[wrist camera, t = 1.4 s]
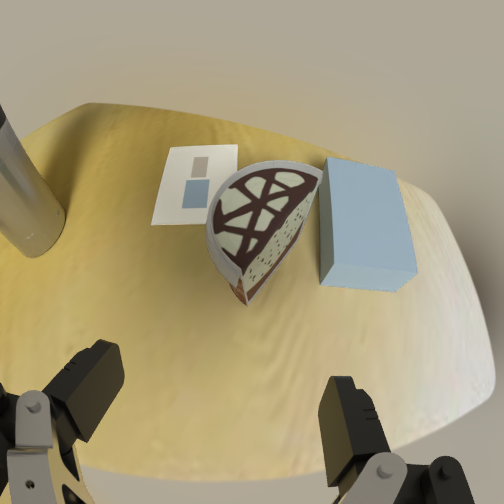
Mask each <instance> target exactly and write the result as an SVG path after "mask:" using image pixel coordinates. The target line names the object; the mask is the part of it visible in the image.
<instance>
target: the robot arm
mask: <svg viewBox="0 0 504 504" xmlns="http://www.w3.org/2000/svg"><path fill="white" fill-rule="evenodd" d="M64 222H65V211H64V209H63V207H62V206H61V204H60V203H59V202H58V200H57V199H56V197H55V196H54V195H53V193H52V192H51V190H50V189H49V187H48V186H47V184H46V183H45V181H44V180H43V178H42V177H41V175H40V174H39V172H38V171H37V169H36V168H35V166H34V164H33V163H32V161H31V160H30V158H29V156H28V155H27V153H26V151H25V150H24V148H23V146H22V145H21V143H20V141H19V140H18V138H17V136H16V134H15V132H14V131H13V129H12V127H11V125H10V123H9V121H8V119H7V117H6V115H5V113H4V111H3V110H2V107H1V105H0V232H1V233H2V234H3V235H4V236H5V237H6V238H7V239H8V240H9V241H10V242H11V243H12V244H13V245H14V246H15V247H16V248H17V249H18V250H19V251H20V252H22V253H23V254H24V255H25V256H27V257H30V258H32V257H37V256H40V255H41V254H43V253H45V252H46V251H47V250H48V249H49V248H50V247H51V246H52V245H53V244H54V243H55V241H56V240H57V239H58V237H59V235H60V233H61V232H62V229H63V226H64ZM124 376H125V375H124V369H123V364H122V360H121V355H120V350H119V346H118V345H117V344H115V343H112V342H108V341H105V340H102V339H99V340H98V341H96V343H95V344H94V345H93V346H92V347H91V348H86V349H84V350H82V351H80V352H78V353H77V354H76V355H75V356H74V357H73V358H72V359H71V360H70V362H68V363H67V364H66V365H65V366H64V369H62V370H61V371H60V372H59V373H58V374H57V375H56V376H55V377H54V378H53V379H52V380H51V382H50V383H49V384H48V385H47V386H46V387H45V388H44V389H43V390H42V391H41V392H40V391H36V390H32V391H27V392H25V393H23V394H22V395H21V396H18V395H14V394H10V393H7V392H6V391H5V390H4V388H3V386H2V384H1V383H0V496H1V494H2V492H3V490H4V488H5V487H6V485H7V483H8V481H9V488H10V495H11V501H12V504H95V503H94V501H93V499H92V497H91V495H90V494H89V492H88V490H87V488H86V486H85V483H84V480H83V476H82V472H81V469H80V464H79V460H78V456H77V451H76V447H75V444H74V442H75V441H76V439H77V438H78V439H80V440H82V441H84V442H86V443H88V441H89V439H90V438H91V436H92V434H93V433H94V431H95V429H96V428H97V426H98V424H99V423H100V421H101V419H102V418H103V416H104V415H105V413H106V411H107V410H108V408H109V407H110V405H111V403H112V402H113V400H114V399H115V397H116V395H117V394H118V392H119V391H120V389H121V388H122V386H123V383H124ZM318 418H319V425H320V432H321V438H322V445H323V452H324V460H325V467H326V475H327V483H328V487H336V486H338V488H339V494H338V495H337V496H336V498H335V499H334V500H333V502H332V503H331V504H475V503H474V500H473V497H472V494H471V491H470V488H469V485H468V482H467V480H466V477H465V474H464V472H463V469H462V466H461V465H460V463H459V462H458V461H457V460H456V459H455V458H453V457H450V456H441V457H439V458H437V459H435V460H434V461H433V462H432V463H431V464H430V465H413V464H406V463H405V461H404V460H403V459H402V458H401V457H400V456H398V455H396V454H394V453H391V451H390V449H389V446H388V443H387V440H386V437H385V434H384V431H383V428H382V426H381V423H380V420H379V419H378V415H377V412H376V411H375V407H374V404H373V401H372V399H371V397H370V396H369V395H368V394H367V393H366V392H365V391H364V390H363V389H356V387H355V384H354V381H353V379H352V377H351V376H331V377H330V378H329V380H328V383H327V386H326V389H325V391H324V394H323V397H322V399H321V402H320V405H319V411H318Z"/></svg>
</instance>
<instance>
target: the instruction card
mask: <svg viewBox="0 0 504 504" xmlns="http://www.w3.org/2000/svg"><path fill="white" fill-rule="evenodd" d="M237 156H238V145H203V146H184V147H171V148H170V151H169V154H168V158H167V161H166V165H165V169H164V172H163V176H162V180H161V184H160V188H159V192H158V196H157V200H156V204H155V209H154V213H153V218H152V222H151V225H188V224H206V221H207V215H208V211H209V206H210V204H211V202H212V199H213V197H214V196H215V194H216V192H217V191H218V189H219V188H220V186H221V185H222V184H223V183H224V182H225V181H226V179H227V178H229V177H230V176H231V175H233V174H234V173H235V172H237Z"/></svg>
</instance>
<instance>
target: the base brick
mask: <svg viewBox="0 0 504 504" xmlns="http://www.w3.org/2000/svg"><path fill="white" fill-rule="evenodd" d="M322 175H323V177H322V181H321V184H320V185H318V187H319V211H320V285H324V286H334V287H344V288H355V289H366V290H377V291H389V292H396V291H397V290H398V289H399V288H401V287H402V286H403V285H404V284H406V283H407V282H408V281H409V280H410V279H412V278H413V277H414V276H415V275H416V274H418V270H417V264H416V258H415V252H414V247H413V242H412V237H411V232H410V228H409V223H408V219H407V215H406V211H405V207H404V203H403V199H402V196H401V192H400V189H399V185H398V182H397V179H396V175H395V172H394V171H392V170H388V169H384V168H379V167H376V166H371V165H367V164H362V163H357V162H352V161H347V160H342V159H337V158H331V157H327V159H326V162H325V165H324V168H323V174H322Z"/></svg>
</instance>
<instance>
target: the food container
mask: <svg viewBox="0 0 504 504" xmlns="http://www.w3.org/2000/svg"><path fill="white" fill-rule="evenodd" d="M322 174H323V171H322V170H320V169H318V168H316V167H313V166H310V165H307V164H304V163H300V162H295V161H287V160H271V161H263V162H259V163H255V164H252V165H249V166H247V167H244V168H242V169H240V170H239V171H237V172H235V173H234V174H233V175H231V176H230V177H229V178H227V179H226V181H225V182H224V183H223V184H222V185H221V186H220V188H219V189H218V191H217V192H216V194H215V196H214V197H213V199H212V202H211V204H210V206H209V211H208V215H207V221H206V228H205V238H206V244H207V249H208V252H209V254H210V257H211V259H212V261H213V263H214V264H215V266H216V268H217V269H218V271H219V272H220V273H221V274H222V275H223V277H224V278H225V279H226V280H227V281H228V282H229V284H230V286H231V288H232V290H233V292H234V293H235V295H236V296H237V297H238V298H239V300H240V301H241V302H243V303H244V304H245V305H246V306H248V305H249V304H250V302H251V301H252V300H253V299H254V297H255V296H256V295H257V293H258V292H259V291H260V290H261V288H262V287H263V286H264V284H265V283H266V282H267V281H268V279H269V278H270V277H271V275H272V274H273V273H274V272H275V270H276V269H277V268H278V266H279V265H280V264H281V263H282V261H283V260H284V259H285V257H286V256H287V255H288V253H289V252H290V251H291V249H292V248H293V247H294V245H295V244H296V243H297V241H298V240H299V237H300V234H301V232H302V229H303V226H304V224H305V221H306V218H307V216H308V213H309V210H310V208H311V205H312V202H313V199H314V197H315V194H316V191H317V188H318V185H320V184H321V181H322V177H323V175H322Z"/></svg>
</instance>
